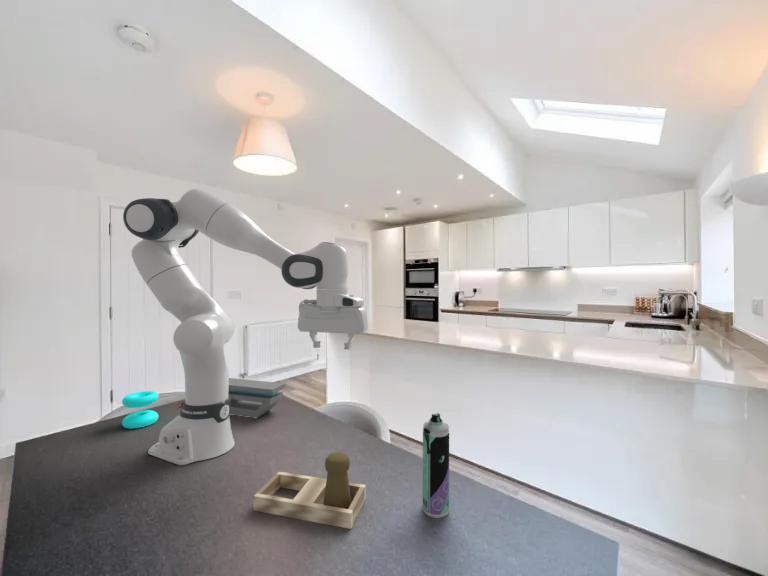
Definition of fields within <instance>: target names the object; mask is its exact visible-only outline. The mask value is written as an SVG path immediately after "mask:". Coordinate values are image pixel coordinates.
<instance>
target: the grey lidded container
mask: <svg viewBox="0 0 768 576" xmlns="http://www.w3.org/2000/svg"><path fill="white" fill-rule="evenodd" d="M284 389H286V383H284V382H274V381H265V380H264V381H263V380H253V379H243V378H234V377H233V378H232V377H229V396H230V413H229V414H235V415H242V416H250V417H258V418H259V416H260V415H261V416H263V415H265V414H266V413H265V412H267V411H268V412H270V411H271V410H272V409H273V408H274V407H275V406H276V405H277V404H278V403H279V402H280V401H281V400H282V399H283V397H284V395H283V393H284V392H283V391H281V390H284ZM270 409H271V410H270ZM269 410H270V411H269ZM268 412H267V413H268ZM264 413H265V414H264ZM262 414H263V415H262ZM261 416H260V417H261Z"/></svg>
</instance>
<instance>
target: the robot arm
mask: <svg viewBox="0 0 768 576" xmlns="http://www.w3.org/2000/svg"><path fill="white" fill-rule="evenodd" d="M122 215H123V216H122V218H123V219H122V220H123V224H124V226H125V227H126V230H127V231H129V233H131V234H132V235H134V236H135V237H136V238H140V239H142V240H140V241H139V242H137V243H136V244H135V245H134V246H133V247H132V249H131V257H132V260H133V263H134V265H135V267H136V270H137V271H138V273H139V275H140V276H141V278H142V280H143V281H144V283H145V284H146V286H147V287H148V288H149V290H150V291H151V292H152V294H153V295H154V297H155V299H157V301H158V302H159V304H160V305H161V307H162V308H163V309H164V310H165V311H167V312H168V313H170V314H171V315H173V316H174V317H175V318H176V319H177V320H178V321H179V322H180V324H179V325H177V327H176V329H175V331H174V333H173V336H172V337H173V338H172V339H173V340H172V341H173V344H174V347H176V350H177V351H179V354H180V359H181V362H182V366H183V367H182V368H183V371H184V397H185V398H184V399H185V400H184V401H183V402H180V403H178V404H176V406H177V407H176V409H177V410H178V409H180V412H179V414H178V415H176V416H175V417H174V419H172V420H171V421H170V422H168V423H167V424H165V425H164V427H162V428H161V430H160V432H159V436H158V442H156V443H155V444H153V445H152V446H151V447H149V449H148V452H147V454H148V455H150V456H153V457H156V458H159V459H161V460H164V461H166V462H170V463H173V464H175V465H177V466H185V465H188V464H192V463H195V462H199V461H205V460H209V459H214V458H216V457H219V456H221V455H224V454H225V453H227V452H229V451H231V450H232V449H233V447H234V446H235V443H236V442H235V440H234V436H233V431H232V425H231V419H230V415H229V413H230V396H229V378H230V377H229V376H230V373H229V372H230V371H229V368H228V366H227V361H226V358H225V351H224V350H225V349H224V347H225V345H226V344H227V343H228V342H229V341H230V340H231V339H232V337H233V335H234V333H235V323H234V320H233V319H232V317H230V315H228V314H227V313H226V312H225V311H224V309H223V308H222V307H221V306H220V305H219V304H218V303H217V302H216V301H215V300H214V299H213V297H212V296H211V295H210V294H209V293H208V292H207V291H206V289H204V288H203V286H202V285H201V284H200V282H199V280H198V279H197V277H196V276H195V274H194V273H193V271H192V270H191V269H190V267H189V266H188V264H187V263H186V262H185V260H184V259H183V258H182V256H181V254H180V251H179V248H181V249H182V248H185V247H186V246H188V244H189V242H190V241H191V240H192V239H194V238H195V237H196V236H197V235H198V233H199V232H200V233H201V234H203V235H204V236H206V237H208V238H209V239H211V240H213V241H215V242H216V243H218V244H220V245H223V246H225V247H227V248H230V249H234V250H237V251H241V252H245V253H249V254H250V255H255V256H257V257H260V258H261V259H263V260H265V261H267V262H269V263H270V264H271V265H274V266H275V267H277V268H279V270H281V276H282V278H283V280H284V281H285V283H286V284H288V285H289V286H291V287H293V288H297V289H302V290H312V289H314V288H316V299H303V300H302V301H300V302H299V304H298V318H297V319H298V321H297V329H298V330H299V332H302V333H306V332H307V333H309V337H310V340H311V341H312V345H313V346H312V347H313V348H314V349H315V348H316V349H319V348H321V340H319V339H318V338H317V335H318V333H325V334H327V333H329V334H347V338H349V339H348V340H347V341H346V342H344V343H343V346H344V347H343V349H344V350H349V351H350V350H351V348H352V342H353V341H354V339H355V337H356V334H357V335H363V334H365V333H366V332H367V331H368V328H369V326H368V315H367V311H366V309H365V308H364V307H363V306H364V305H365V300H364V299H363V298H361V297H358V296H355V295H354V294H353V295H352V294H349V287H348V285H347V282H348V281H347V280H348V275H349V263H348V262H349V260H348V254H347V250H346V249H345V247H343V246H341V245H340V244H338V243H334V242H329V241H323V242H319V243H318V244H317V245H316V246H313V247H312V248H311V249H308V250H305V251H303V252H298V253H295V252H292V251H291V250H289V249H288V248H286V247H285V246H283V245H281V244H280V243H278V242H277V241H275V240H273V239H272V238H271V237H270V236H268V235H267V234H266V232H264V231H263V229H261V228H260V227H259V226H258V225H257V224H256V223H255V222H254V221H253V220H252V219H251V218H250V217H249V216H248V215H246V214H245V213H244V212H243V211H242V210H240V209H239V208H237V206H235V205H234V204H231V203H230V202H228V201H227V200H226V199H225V200H224V199H223V198H221V197H220V196H218V195H215V194H213V193H210V192H208V191H206V190H203V189H199V188H192V189H190V190H187V191H186V192H185V193H184V194H183V195H182V196H181V198H180V199H179V200H178V201H175V202H172V201H170V199H167V198H152V197H150V198H149V197H148V198H138V199H135V200H134V199H133V201H130V202H129V203H128V204H127V205H126V207H125V208H124V211H123V214H122Z"/></svg>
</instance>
